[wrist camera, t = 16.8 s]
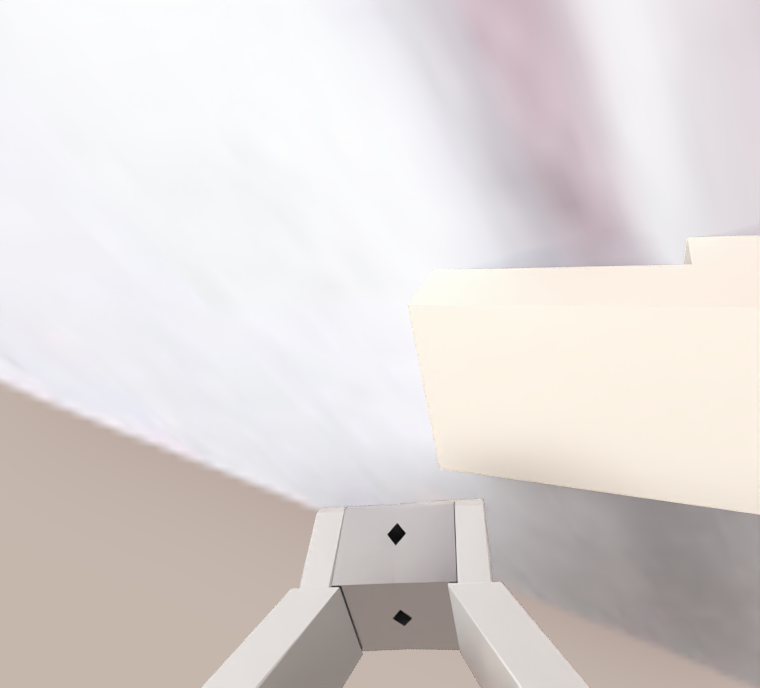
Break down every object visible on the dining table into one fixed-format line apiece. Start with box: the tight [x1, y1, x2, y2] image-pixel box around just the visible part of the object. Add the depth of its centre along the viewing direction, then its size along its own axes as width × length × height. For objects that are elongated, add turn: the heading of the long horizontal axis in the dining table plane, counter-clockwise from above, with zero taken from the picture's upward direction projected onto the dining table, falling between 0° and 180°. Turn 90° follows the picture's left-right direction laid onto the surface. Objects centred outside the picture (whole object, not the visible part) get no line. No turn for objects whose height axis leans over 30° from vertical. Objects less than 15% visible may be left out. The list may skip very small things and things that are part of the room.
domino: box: [408, 263, 760, 515], centre depth 12 cm, size 2×5×8 cm
